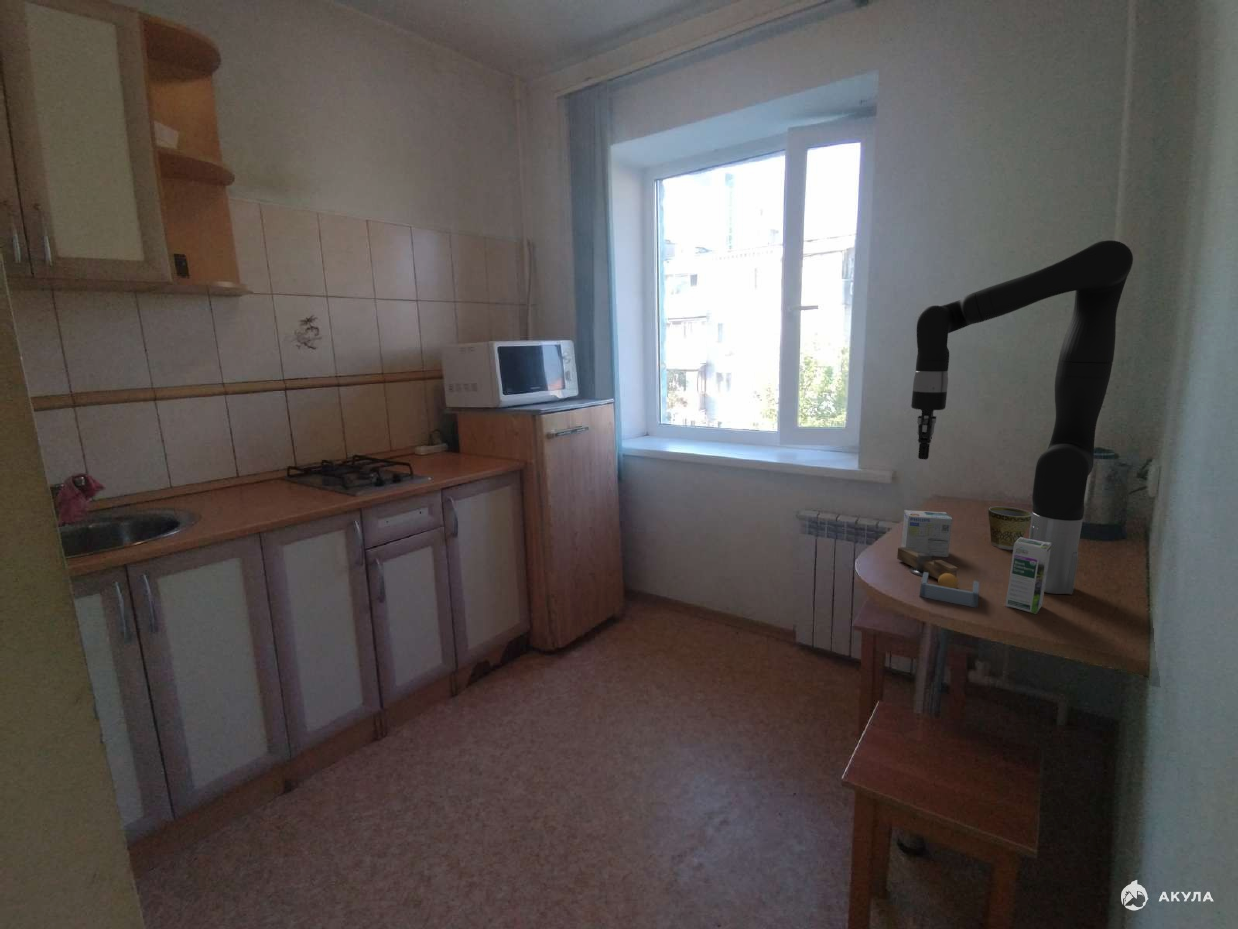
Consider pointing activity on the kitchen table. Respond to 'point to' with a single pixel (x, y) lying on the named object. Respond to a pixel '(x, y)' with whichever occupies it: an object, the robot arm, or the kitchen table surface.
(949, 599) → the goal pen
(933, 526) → the light bulb box
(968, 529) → the kitchen table surface
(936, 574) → the tan wooden bar
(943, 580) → the ball
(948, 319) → the robot arm
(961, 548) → the kitchen table surface
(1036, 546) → the syrup box
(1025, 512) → the ceramic cup
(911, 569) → the pivot base
